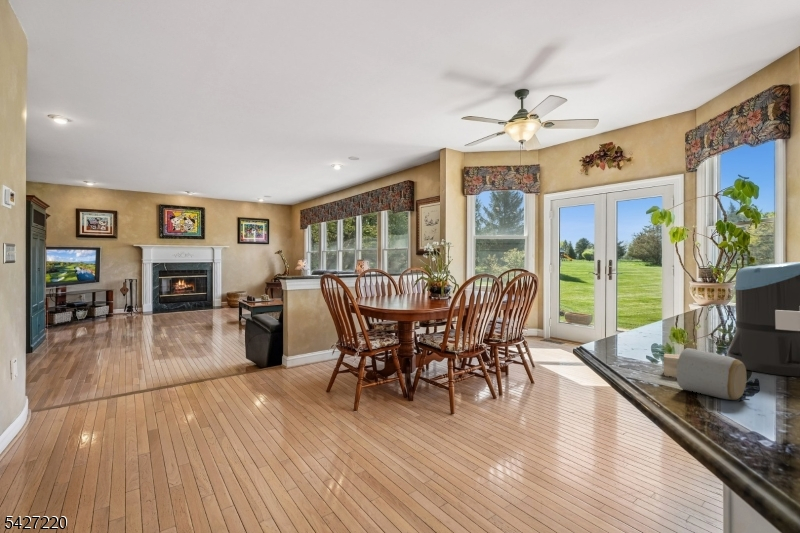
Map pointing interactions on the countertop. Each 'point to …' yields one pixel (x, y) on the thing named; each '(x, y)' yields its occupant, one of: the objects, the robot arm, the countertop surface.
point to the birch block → (670, 364)
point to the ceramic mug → (711, 374)
